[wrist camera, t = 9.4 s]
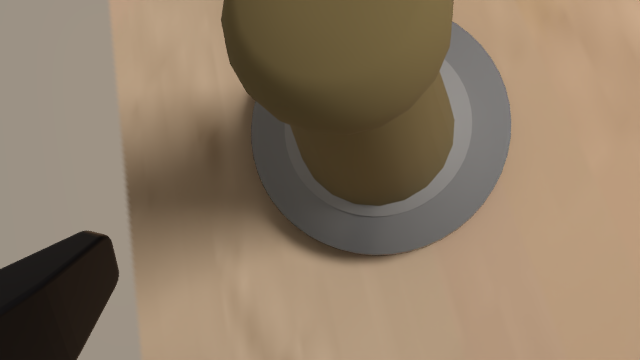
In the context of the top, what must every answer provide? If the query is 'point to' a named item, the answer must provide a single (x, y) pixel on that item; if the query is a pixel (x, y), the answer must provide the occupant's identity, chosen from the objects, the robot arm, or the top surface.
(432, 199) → the coaster
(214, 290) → the top surface
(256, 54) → the cork
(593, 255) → the top surface
